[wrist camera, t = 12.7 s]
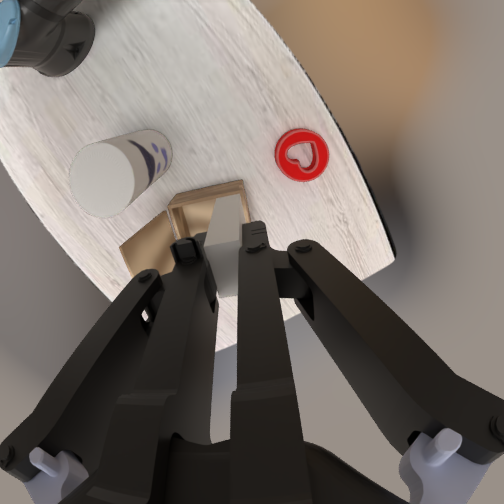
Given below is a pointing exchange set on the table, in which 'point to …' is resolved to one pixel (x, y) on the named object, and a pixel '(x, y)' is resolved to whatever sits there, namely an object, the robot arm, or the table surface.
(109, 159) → the container
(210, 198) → the wooden box
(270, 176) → the table surface
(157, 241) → the lid
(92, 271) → the table surface
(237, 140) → the table surface
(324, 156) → the decorative ornament
